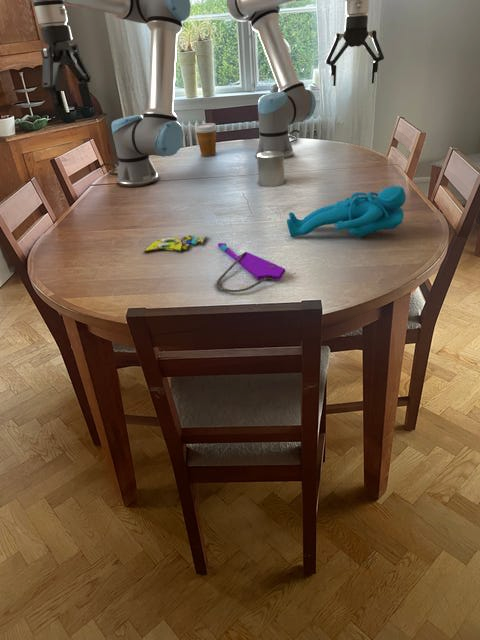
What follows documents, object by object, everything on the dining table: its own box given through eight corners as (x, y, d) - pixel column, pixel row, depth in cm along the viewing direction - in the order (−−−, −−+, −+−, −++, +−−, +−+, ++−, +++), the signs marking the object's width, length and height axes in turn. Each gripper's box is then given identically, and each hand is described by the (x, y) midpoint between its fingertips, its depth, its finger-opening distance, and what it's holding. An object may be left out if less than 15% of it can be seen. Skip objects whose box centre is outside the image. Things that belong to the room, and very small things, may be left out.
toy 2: (290, 200, 134) (401, 173, 124) (299, 235, 139) (407, 211, 129) (281, 224, 121) (406, 195, 110) (292, 261, 126) (412, 237, 116)
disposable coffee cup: (194, 156, 208) (190, 127, 202) (203, 151, 216) (200, 122, 209) (213, 157, 205) (210, 127, 199) (222, 151, 212) (220, 122, 206)
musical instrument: (259, 304, 102) (301, 255, 114) (257, 296, 101) (299, 248, 113) (174, 288, 115) (219, 245, 127) (171, 280, 114) (217, 238, 126)
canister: (289, 180, 171) (288, 152, 165) (274, 187, 165) (273, 158, 160) (268, 177, 176) (267, 149, 170) (253, 184, 170) (251, 156, 165)
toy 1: (199, 248, 125) (143, 249, 127) (199, 251, 125) (144, 252, 127) (206, 233, 133) (154, 234, 135) (206, 236, 133) (154, 237, 136)
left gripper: (37, 26, 114) (62, 120, 126) (91, 21, 134) (108, 103, 146) (11, 28, 117) (38, 121, 128) (68, 23, 136) (87, 104, 148)
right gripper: (320, 18, 161) (319, 88, 172) (396, 12, 159) (390, 83, 170) (318, 17, 167) (317, 85, 179) (391, 11, 165) (385, 80, 177)
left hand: (75, 112), depth 137 cm, fingers open, 13 cm apart
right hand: (352, 84), depth 175 cm, fingers open, 13 cm apart
